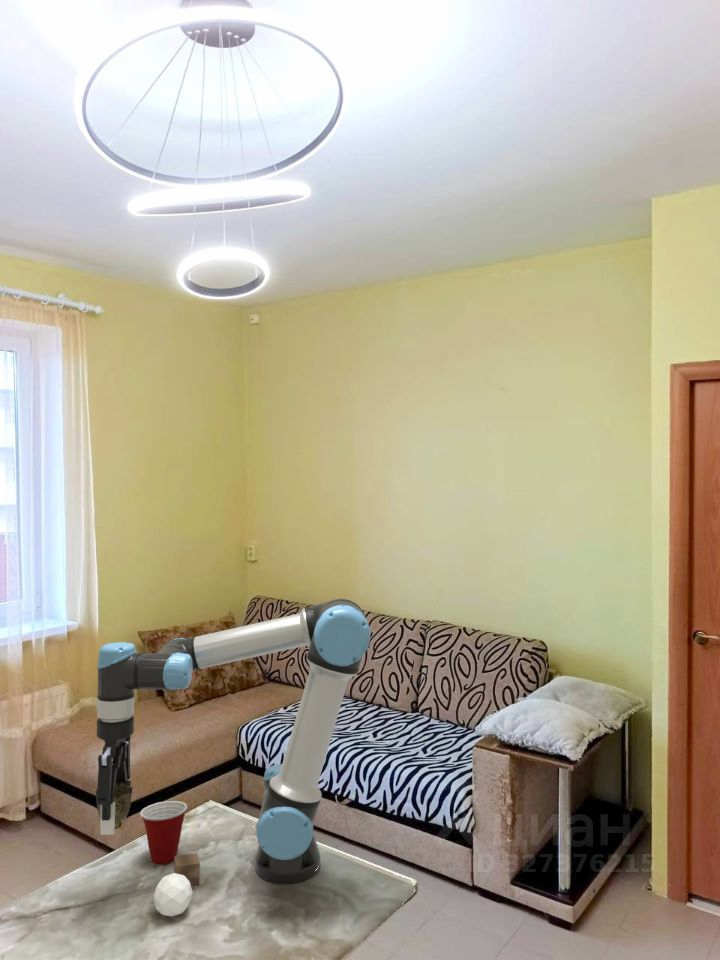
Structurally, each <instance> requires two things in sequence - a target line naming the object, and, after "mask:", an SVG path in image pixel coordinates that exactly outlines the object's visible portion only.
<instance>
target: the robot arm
mask: <svg viewBox="0 0 720 960" xmlns="http://www.w3.org/2000/svg"><path fill="white" fill-rule="evenodd" d="M370 642H371V627H370V624H369V621H368V620H367V618H366V614H365V612H364V610H363V609H362V608H361V606H359V604H357V603H356V602H354V601H352V600H349V599H346V598H337V599H336V598H335V599H331V600H329V601H325V602H323V603H322V602H321V603H319V604H315V605H311V606H307V607H303V608H302V610H301V611H300V612H299V613H297V614H291V615H288V616H282V617H278V618H274V619H268V620H265V621H260V622H256V623H252V624H251V623H250V624H246V625H243V626H238V627H234V628H230V629H224V630H220V631H216V632H211V633H207V634H203V635H197V636H194V637H189V638H183V637H180V638H175V639H172V640H170V641H169V642H167V643H165V645H164V646H163V648H162V649H160V651H158V652H157V653H156V652H155V653H140V652H137V650H136V646H135V644H134V643H131V642H124V641H122V642H121V641H120V642H118V641H117V642H111V643H107V644H104V645H103V646H101V647H100V648H99V651H98V661H97V666H96V669H97V700H96V701H95V703H94V705H95V706H96V707H97V714H96V717H97V718H98V719H97V720H96V737H97V739H99V740H102V741H103V742H104V746H102V754H99V755H98V757H97V764H98V769H97V770H98V771H97V772H98V773H97V788H96V790H97V800H96V801H95V804H96V806H97V805H101V818H100V823H99V824H100V825H99V827H100V830H99V831H100V832H99V835H101V836H105V835H106V836H113V835H115V830H116V829H115V802H113V799H114V790H115V783H117V786H118V787H119V785H120V784H121V783H123V784H125V783H126V784H127V786H129V785H131V786H132V780H130V779H131V739H132V738H131V737H132V735H133V734H134V731H135V730H134V728H135V727H134V726H135V717H134V714H135V690H165V691H167V690H169V691H175V690H185V689H188V688H189V687H190V686H191V683H192V682H191V681H192V678H193V672H194V671H198V670H202V669H206V668H211V667H216V666H219V665H225V664H229V663H234V662H238V661H243V660H249V659H252V658H257V657H260V656H265V655H271V654H274V653H278V652H282V651H287V650H292V649H298V648H301V647H305V646H306V647H308V651H307V655H306V662H307V664H308V665H309V667H310V669H309V673H308V676H307V679H306V684H305V686H304V690H303V693H302V696H301V699H300V704H299V707H298V710H297V712H296V716H295V718H294V723H293V726H292V731H291V734H290V737H289V741H288V743H287V747H286V751H285V754H284V757H283V761H282V763H280V764H274V765H271V766H269V767H267V768H266V769H265V770H264V771H265V772H264V778H263V780H262V781H263V785H264V786H263V797H262V802H261V808H260V813H259V817H258V820H257V822H256V826H255V827H256V828H255V829H256V831H255V833H256V838H257V839H256V840H257V842H258V845H259V846H258V849H257V852H256V855H255V862H254V863H255V865H254V866H255V867H254V869H255V873H256V874H257V875H258V876H259V877H261V878H262V879H263V880H266V881H269V882H272V883H277V884H293V883H299V882H303V881H306V880H309V879H310V878H312V877H313V876H315V875H316V874H317V873H318V872H319V871H320V868H321V854H320V851H319V847H318V843H317V841H316V836H315V833H314V824H315V820H316V816H317V813H318V809H319V806H320V803H321V799H322V796H323V795H322V791H321V790H320V788H319V786H318V785H319V781H320V778H321V773H322V770H323V767H324V764H325V760H326V758H327V753H328V750H329V747H330V743H331V740H332V737H333V733H334V730H335V727H336V722H337V720H338V716H339V713H340V710H341V706H342V703H343V699H344V696H345V692H346V689H347V686H348V682H349V680H350V679H352V678H353V677H355V676H357V675H358V673H359V669H360V667H361V664H362V660H363V657H364V655H365V654H366V652H367V650H368V649H369V645H370ZM126 818H127V816H126V817H125V818H124V819H126ZM319 864H320V865H319ZM318 866H319V867H318ZM317 868H318V869H317ZM316 869H317V870H316ZM315 870H316V871H315Z"/></svg>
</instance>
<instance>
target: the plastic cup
mask: <svg viewBox="0 0 720 960" xmlns="http://www.w3.org/2000/svg"><path fill="white" fill-rule="evenodd" d="M187 809H188V805H187V804H186V803H185V802H183V801H178V800H169V801H168V800H165V801H159V802H156V803H153V804H150V805H147V806H146V807H144V808H142V809H141V811H140V816H141V818H142V819H143V823H144V828H145V831H146V832H145V833H146V838H147V839H146V840H147V845H148V850H149V856H150V860H151V861H150V862H151V863H153V864H154V865H158V866H163V865H169V864H171V863H174V856H178V850H179V849H178V848H179V844H180V842H181V834H182V829H183V823H184V819H185V813H186V812H187Z"/></svg>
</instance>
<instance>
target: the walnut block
mask: <svg viewBox="0 0 720 960" xmlns="http://www.w3.org/2000/svg"><path fill="white" fill-rule="evenodd" d="M173 864H174V865H173V867H174V868H173V873H176V874H180V875H184V876H185V877H186V878H187V879H188V880H189V881H190V884H191V888H194V887H200V879H201V878H200V874H201V873H200V872H201V871H200V869H201V862H200V858H199V855H198V852H192V853H186V854H179V855H178V854H177V856H174V861H173Z"/></svg>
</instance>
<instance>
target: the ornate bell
mask: <svg viewBox="0 0 720 960" xmlns="http://www.w3.org/2000/svg"><path fill="white" fill-rule="evenodd" d="M133 788H134V787H133V786H132V784H131V785H129V786H127V784H126V783H125V784H123V783H121V784H120V785H119V787H118V786H117V783H115V790H114V799H113V802H115V830H117V829H119V828H121V827H122V825H123V823H124V821H123V820H125V819H126V818H127V816H128V814H129V812H130V809H131V805H132V804H131V803H132V798H133V797H132V796H133V790H134V789H133ZM95 790H96V791H95V797H96V798H95V799H96V801H97V789H95ZM96 808H97V809H96V810H97V814H98V817H99V819H101V805H97V804H96ZM125 817H126V818H125Z"/></svg>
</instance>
